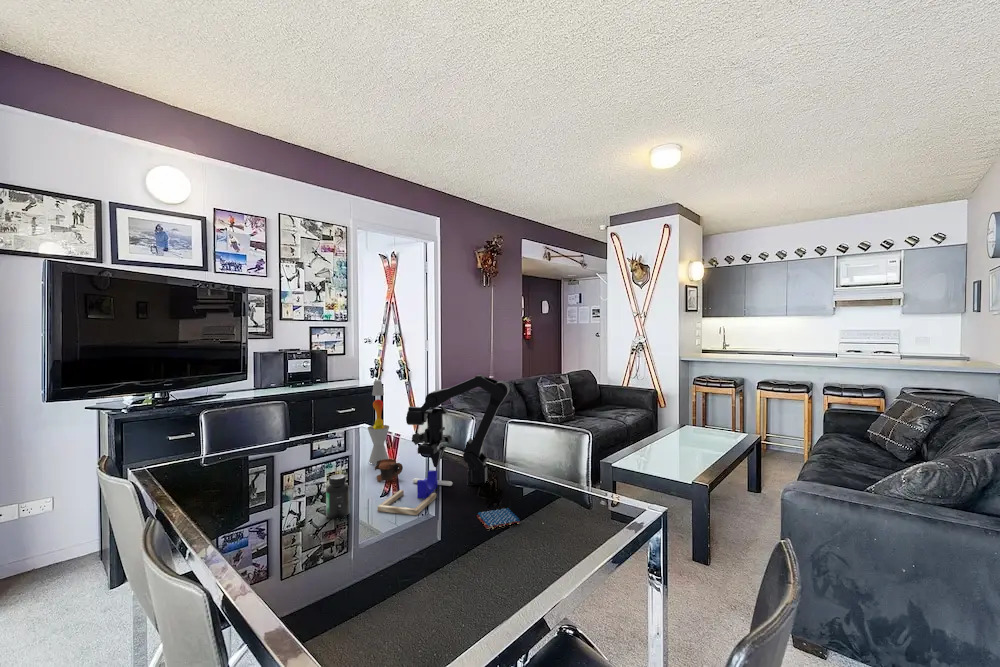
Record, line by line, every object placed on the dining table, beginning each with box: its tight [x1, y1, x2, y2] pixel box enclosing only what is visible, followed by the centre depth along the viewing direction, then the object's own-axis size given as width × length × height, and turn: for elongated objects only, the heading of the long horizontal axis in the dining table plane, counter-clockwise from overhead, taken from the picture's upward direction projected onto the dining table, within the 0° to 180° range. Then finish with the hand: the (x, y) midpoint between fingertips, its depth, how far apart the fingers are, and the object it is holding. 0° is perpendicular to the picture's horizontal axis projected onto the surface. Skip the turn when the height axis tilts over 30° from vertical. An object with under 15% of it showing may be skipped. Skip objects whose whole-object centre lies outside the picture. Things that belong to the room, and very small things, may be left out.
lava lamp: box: [367, 379, 390, 465], centre depth 201 cm, size 9×9×35 cm
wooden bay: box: [377, 489, 437, 516], centre depth 153 cm, size 13×15×2 cm
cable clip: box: [416, 469, 439, 500], centre depth 164 cm, size 12×4×6 cm, turn 169°
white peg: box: [412, 478, 453, 487], centre depth 172 cm, size 16×2×2 cm, turn 74°
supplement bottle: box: [325, 473, 351, 520], centre depth 144 cm, size 7×7×12 cm
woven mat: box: [476, 507, 521, 530], centre depth 139 cm, size 10×11×2 cm
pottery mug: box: [374, 458, 403, 482], centre depth 180 cm, size 12×10×8 cm
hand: (435, 466), depth 174 cm, fingers closed
